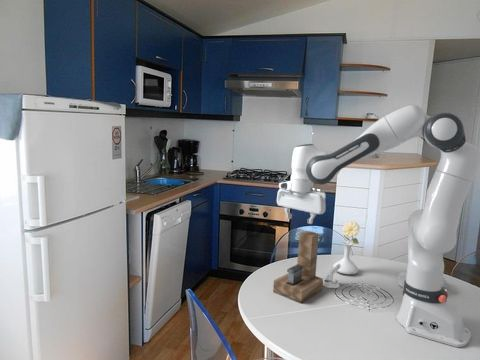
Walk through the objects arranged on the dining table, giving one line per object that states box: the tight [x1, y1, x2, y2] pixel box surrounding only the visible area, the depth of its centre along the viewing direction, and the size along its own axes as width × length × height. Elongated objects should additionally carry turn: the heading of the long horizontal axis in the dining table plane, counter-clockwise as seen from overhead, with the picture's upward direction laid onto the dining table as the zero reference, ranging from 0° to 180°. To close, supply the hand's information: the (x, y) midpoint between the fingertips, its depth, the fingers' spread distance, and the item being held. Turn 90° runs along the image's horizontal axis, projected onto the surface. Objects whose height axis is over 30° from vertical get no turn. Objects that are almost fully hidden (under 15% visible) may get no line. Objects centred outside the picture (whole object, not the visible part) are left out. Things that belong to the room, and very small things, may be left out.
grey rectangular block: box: [286, 264, 304, 286], centre depth 146 cm, size 2×8×10 cm, turn 139°
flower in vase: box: [332, 220, 360, 275], centre depth 168 cm, size 13×11×25 cm
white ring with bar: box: [322, 264, 341, 289], centre depth 155 cm, size 8×12×7 cm
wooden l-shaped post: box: [272, 230, 324, 304], centre depth 147 cm, size 13×16×23 cm
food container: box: [396, 270, 448, 290], centre depth 159 cm, size 20×20×7 cm
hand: (299, 220), depth 144 cm, fingers open, 8 cm apart
